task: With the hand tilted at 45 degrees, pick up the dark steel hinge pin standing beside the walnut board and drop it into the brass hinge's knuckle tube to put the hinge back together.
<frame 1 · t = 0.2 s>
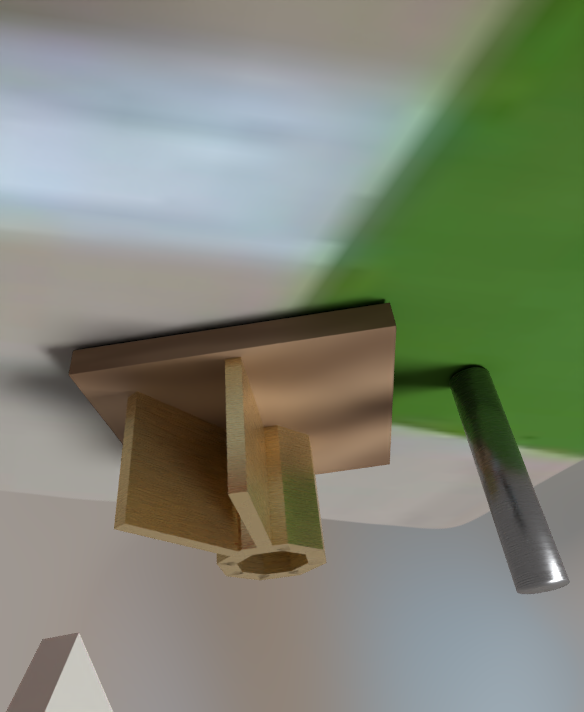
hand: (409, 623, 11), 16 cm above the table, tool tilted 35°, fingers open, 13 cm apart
walnut board: (255, 405, 33), on the table
hinge pin: (469, 379, 33), on the table
brass hinge: (265, 450, 35), resting on walnut board
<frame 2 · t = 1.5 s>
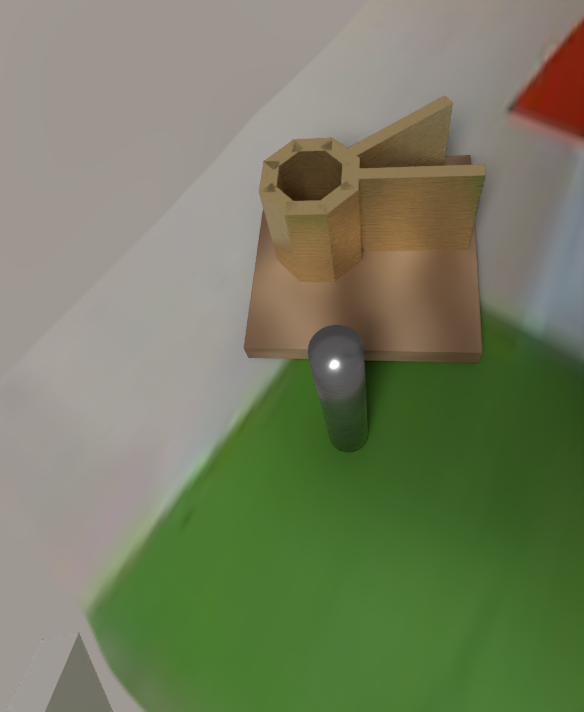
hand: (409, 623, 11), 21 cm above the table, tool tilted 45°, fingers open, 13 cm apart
walnut board: (363, 258, 39), on the table
hinge pin: (348, 433, 34), on the table
brass hinge: (320, 246, 39), resting on walnut board
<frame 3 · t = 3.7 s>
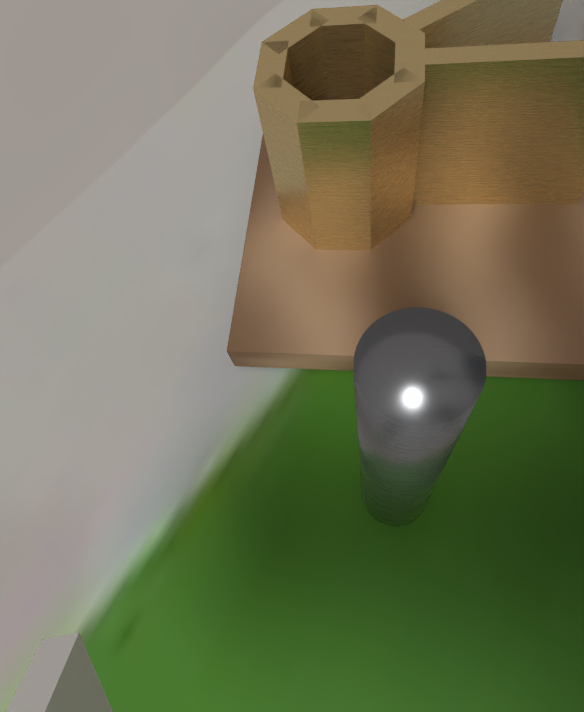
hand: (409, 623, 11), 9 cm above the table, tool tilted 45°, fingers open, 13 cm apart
walnut board: (411, 219, 26), on the table
hinge pin: (394, 493, 21), on the table
brass hinge: (347, 198, 25), resting on walnut board
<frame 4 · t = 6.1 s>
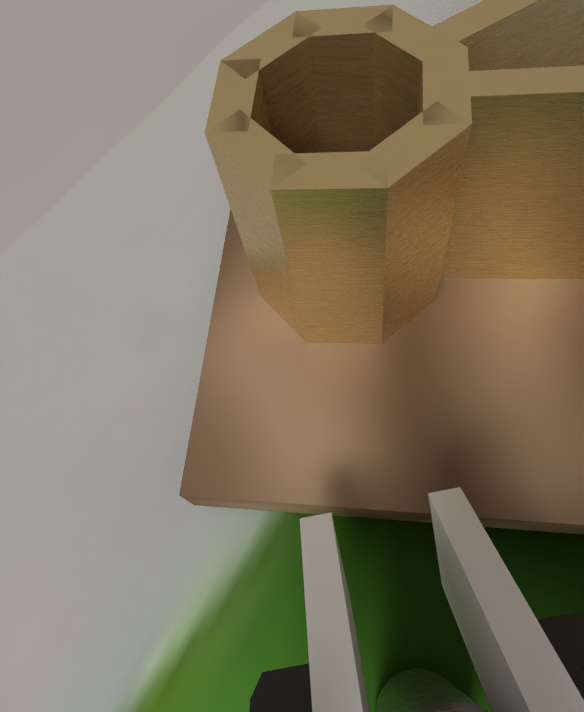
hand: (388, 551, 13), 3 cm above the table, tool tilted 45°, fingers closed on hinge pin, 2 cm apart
walnut board: (434, 291, 20), on the table
brass hinge: (348, 267, 19), resting on walnut board
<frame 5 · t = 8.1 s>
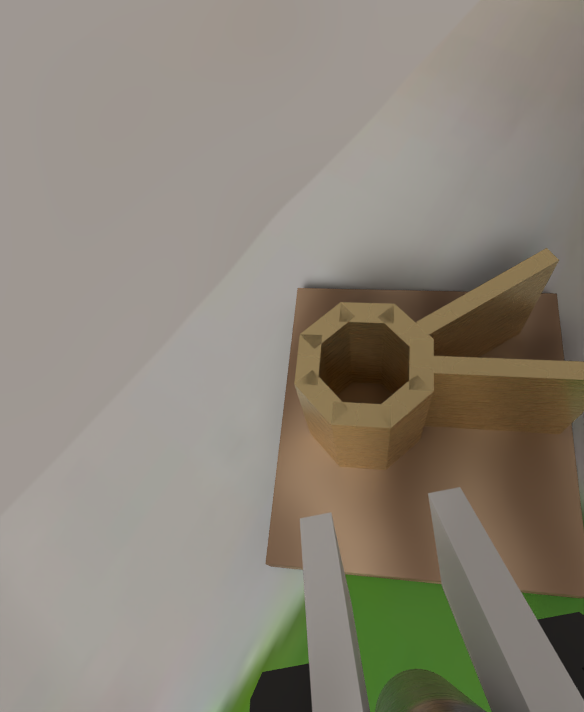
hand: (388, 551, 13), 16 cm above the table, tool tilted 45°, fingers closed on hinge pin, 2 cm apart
walnut board: (419, 427, 31), on the table
brass hinge: (365, 415, 30), resting on walnut board
when the fingers open (13 cm above the table, at t = 10.3 s): hinge pin drops 8 cm, resting on walnut board.
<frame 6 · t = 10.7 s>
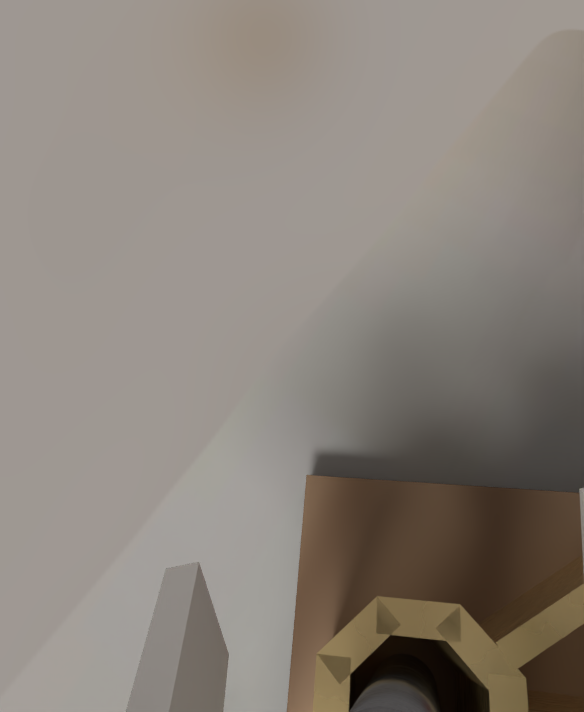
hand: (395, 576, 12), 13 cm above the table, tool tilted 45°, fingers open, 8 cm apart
walnut board: (477, 692, 22), on the table
hinge pin: (405, 688, 21), point 2 cm above the table, tilted 5°, touching walnut board
brass hinge: (404, 687, 21), resting on walnut board
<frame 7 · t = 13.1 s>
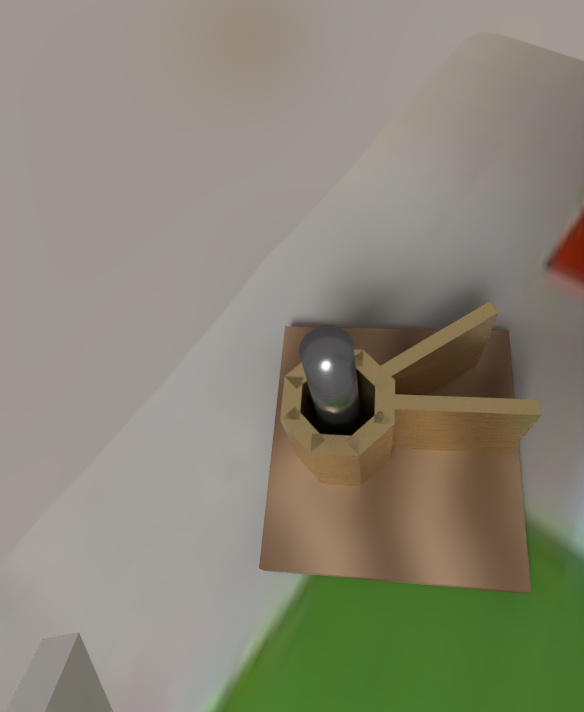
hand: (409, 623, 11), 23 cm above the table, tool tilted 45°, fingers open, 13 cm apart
walnut board: (391, 448, 35), on the table
hinge pin: (344, 439, 35), point 2 cm above the table, touching walnut board
brass hinge: (343, 439, 35), resting on walnut board
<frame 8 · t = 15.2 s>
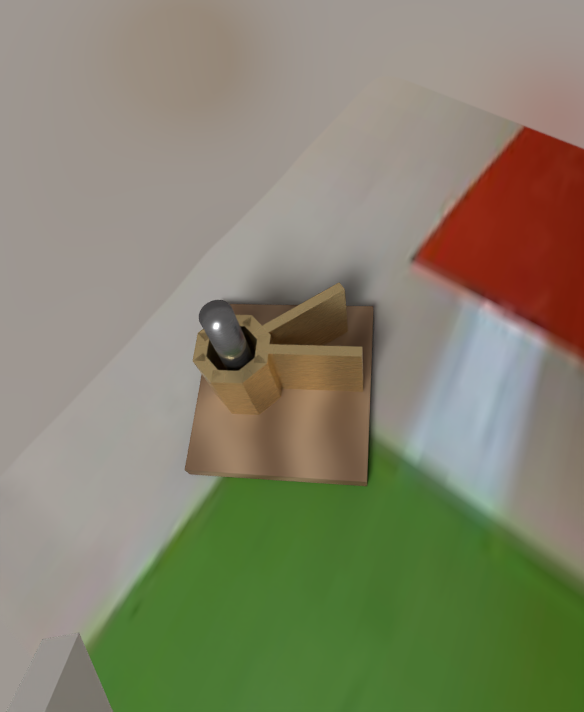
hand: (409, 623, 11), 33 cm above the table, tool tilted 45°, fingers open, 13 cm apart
walnut board: (285, 390, 49), on the table
hinge pin: (249, 383, 48), point 2 cm above the table, touching walnut board
brass hinge: (249, 383, 48), resting on walnut board
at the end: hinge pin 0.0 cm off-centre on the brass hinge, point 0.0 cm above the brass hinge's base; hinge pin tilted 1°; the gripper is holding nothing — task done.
